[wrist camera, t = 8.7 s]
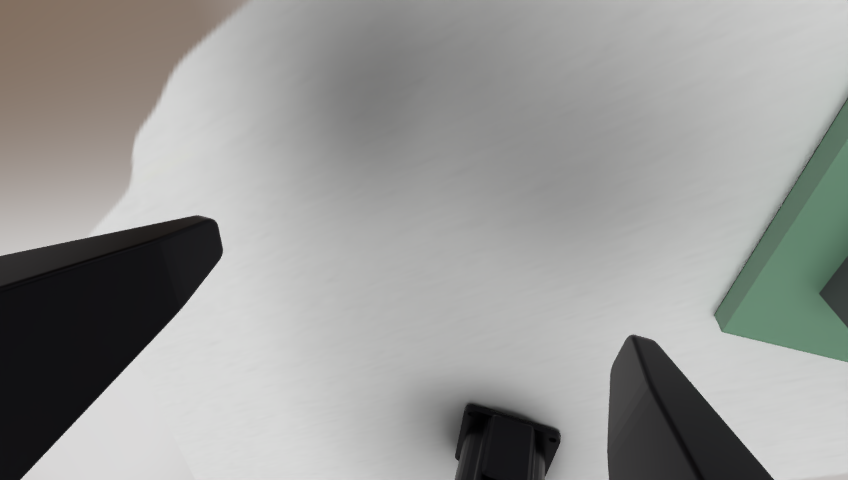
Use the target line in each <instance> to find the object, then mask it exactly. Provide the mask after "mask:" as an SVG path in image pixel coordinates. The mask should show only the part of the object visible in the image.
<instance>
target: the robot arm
mask: <svg viewBox="0 0 848 480" xmlns="http://www.w3.org/2000/svg"><path fill="white" fill-rule="evenodd" d="M222 253H223V247H222V242H221V237H220V233H219V228H218V224H217V223H216V221H215V220H213V219H211V218H207V217H204V216H199V215H196V216H191V217H186V218H181V219H176V220H171V221H167V222H162V223H157V224H152V225H147V226H142V227H138V228H133V229H128V230H123V231H118V232H114V233H109V234H104V235H99V236H94V237H90V238H85V239H80V240H75V241H70V242H65V243H61V244H56V245H51V246H47V247H42V248H37V249H32V250H27V251H22V252H17V253H13V254H8V255H3V256H0V480H20V479H21V478H22V477H23V476H24V475H25V474H26V473H27V472H28V471H29V470H30V469H31V468H32V467H33V466H34V465H35V463H37V461H38V460H39V459H40V458H41V457H42V456H43V455H44V454H45V453H46V452H47V451H48V450H49V449H50V448H51V447H52V446H53V445H54V443H55V442H56V441H57V440H58V439H59V438H60V437H61V436H62V435H63V434H64V433H65V432H66V431H67V430H68V429H69V428H70V427H71V426H72V424H73V423H74V422H75V421H76V420H77V419H78V418H79V417H80V416H81V415H82V414H83V413H84V412H85V411H86V410H87V409H88V407H89V406H90V405H91V404H92V403H93V402H94V401H95V400H96V399H97V398H98V397H99V396H100V395H101V394H102V393H103V392H104V391H105V389H106V388H107V387H108V386H109V385H110V384H111V383H112V382H113V381H114V380H115V379H116V378H117V377H118V376H119V375H120V374H121V372H123V370H124V369H125V368H126V367H127V366H128V365H129V364H130V363H131V362H132V361H133V360H134V359H135V358H136V357H137V356H138V355H139V354H140V353H141V351H142V350H143V349H144V348H145V347H146V346H147V345H148V344H149V343H150V342H151V341H152V340H153V339H154V338H155V337H156V336H157V335H158V333H159V332H160V331H161V330H162V329H163V328H164V327H165V326H166V325H167V324H168V323H169V322H170V321H171V320H172V319H173V318H174V316H175V315H176V314H177V313H178V312H179V311H180V310H181V309H182V307H183V306H184V305H185V304H186V302H187V301H188V300H189V299H190V297H191V296H192V295H193V294H194V292H195V291H196V290H197V288H198V287H199V286H200V285H201V283H202V282H203V281H204V279H205V278H206V277H207V276H208V274H209V273H210V272H211V270H212V269H213V268H214V267H215V265H216V264H217V263H218V261H219V260H220V259H221V256H222ZM560 440H561V435H560V433H559V432H557V431H555V430H552V429H549V428H546V427H543V426H539V425H536V424H533V423H530V422H527V421H523V420H520V419H517V418H514V417H511V416H507V415H504V414H501V413H498V412H495V411H491V410H488V409H485V408H482V407H479V406H475V405H471V404H470V405H467V406H466V407H465V411H464V416H463V420H462V425H461V430H460V435H459V440H458V445H457V449H456V454H455V458H456V459H457V460H458V461H459V463H458V468H457V472H456V476H455V480H544V478H545V476H546V474H547V471H548V469H549V467H550V465H551V462H552V460H553V458H554V456H555V453H556V451H557V449H558V447H559V444H560ZM607 453H608V470H609V480H774V479H773V478H772V477H771V475H770V474H769V473H768V472H767V471H766V470H765V468H764V467H763V466H762V465H761V464H760V463H759V461H758V460H757V459H756V458H755V457H754V456H753V455H752V453H751V452H750V451H749V450H748V449H747V448H746V446H745V445H744V444H743V443H742V442H741V441H740V439H739V438H738V437H737V436H736V435H735V434H734V432H733V431H732V430H731V429H730V428H729V427H728V425H727V424H726V423H725V422H724V421H723V420H722V418H721V417H720V416H719V415H718V414H717V413H716V411H715V410H714V409H713V408H712V407H711V406H710V404H709V403H708V402H707V401H706V400H705V399H704V397H703V396H702V395H701V394H700V393H699V392H698V390H697V389H696V388H695V387H694V386H693V385H692V383H691V382H690V381H689V380H688V379H687V378H686V376H685V375H684V374H683V373H682V372H681V371H680V369H679V368H678V367H677V366H676V365H675V364H674V362H673V361H672V360H671V359H670V358H669V357H668V355H667V354H666V353H665V352H664V351H663V350H662V348H661V347H660V346H659V345H658V344H657V343H656V342H655V341H654V340H651V339H648V338H644V337H641V336H637V335H630V336H629V337H628V338H627V339H626V340H625V342H624V344H623V346H622V348H621V350H620V351H619V353H618V355H617V357H616V359H615V361H614V363H613V365H612V369H611V374H610V396H609V419H608V447H607Z"/></svg>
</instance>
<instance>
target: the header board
mask: <svg viewBox="0 0 848 480" xmlns="http://www.w3.org/2000/svg"><path fill="white" fill-rule="evenodd" d="M847 256H848V100H847V101H846V103H845V104H844V106H843V108H842V109H841V111H840V113H839V114H838V116H837V117H836V119H835V121H834V122H833V124H832V125H831V127H830V129H829V130H828V132H827V134H826V135H825V137H824V138H823V140H822V142H821V143H820V145H819V147H818V148H817V150H816V151H815V153H814V155H813V156H812V158H811V159H810V161H809V163H808V164H807V166H806V168H805V169H804V171H803V172H802V174H801V176H800V177H799V179H798V181H797V182H796V184H795V185H794V187H793V189H792V190H791V192H790V193H789V195H788V197H787V198H786V200H785V202H784V203H783V205H782V206H781V208H780V210H779V211H778V213H777V214H776V216H775V218H774V219H773V221H772V223H771V224H770V226H769V227H768V229H767V231H766V232H765V234H764V236H763V237H762V239H761V240H760V242H759V244H758V245H757V247H756V248H755V250H754V252H753V253H752V255H751V257H750V258H749V260H748V261H747V263H746V265H745V266H744V268H743V270H742V271H741V273H740V274H739V276H738V278H737V279H736V281H735V282H734V284H733V286H732V287H731V289H730V291H729V292H728V294H727V295H726V297H725V299H724V300H723V302H722V304H721V305H720V307H719V308H718V310H717V312H716V313H715V315H714V316H715V318H716V320H717V322H718V324H719V326H720V329H721V331H722V332H724V333H729V334H733V335H737V336H741V337H745V338H749V339H754V340H758V341H762V342H766V343H770V344H774V345H778V346H783V347H787V348H791V349H795V350H799V351H803V352H808V353H812V354H816V355H820V356H824V357H828V358H833V359H837V360H841V361H845V362H848V328H847V327H846V325H845V324H844V323H843V322H842V321H841V319H840V318H839V317H838V316H837V315H836V313H835V312H834V311H833V310H832V309H831V308H830V306H829V305H828V304H827V303H826V302H825V300H824V299H823V298H822V297H821V296H820V294H819V293H820V291H821V290H822V289H823V287H824V286H825V285H826V284H827V282H828V281H829V280H830V278H831V277H832V276H833V274H834V273H835V272H836V271H837V269H838V268H839V267H840V265H841V264H842V263H843V261H844V260H845V259H846V257H847Z"/></svg>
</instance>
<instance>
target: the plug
mask: <svg viewBox="0 0 848 480" xmlns="http://www.w3.org/2000/svg"><path fill="white" fill-rule="evenodd" d="M819 294H820V296H821V297H822V298H823V299H824V300H825V302H826V303H827V304H828V305H829V306H830V308H831V309H832V310H833V311H834V312H835V313H836V315H837V316H838V317H839V318H840V319H841V321H842V322H843V323H844V324H845V325H846V327H847V328H848V256H847V257H846V259H845V260H844V261H843V263H842V264H841V265H840V267H839V268H838V269H837V271H836V272H835V273H834V274H833V276H832V277H831V278H830V280H829V281H828V282H827V284H826V285H825V286H824V287H823V289H822V290H821V291H820V293H819Z"/></svg>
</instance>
